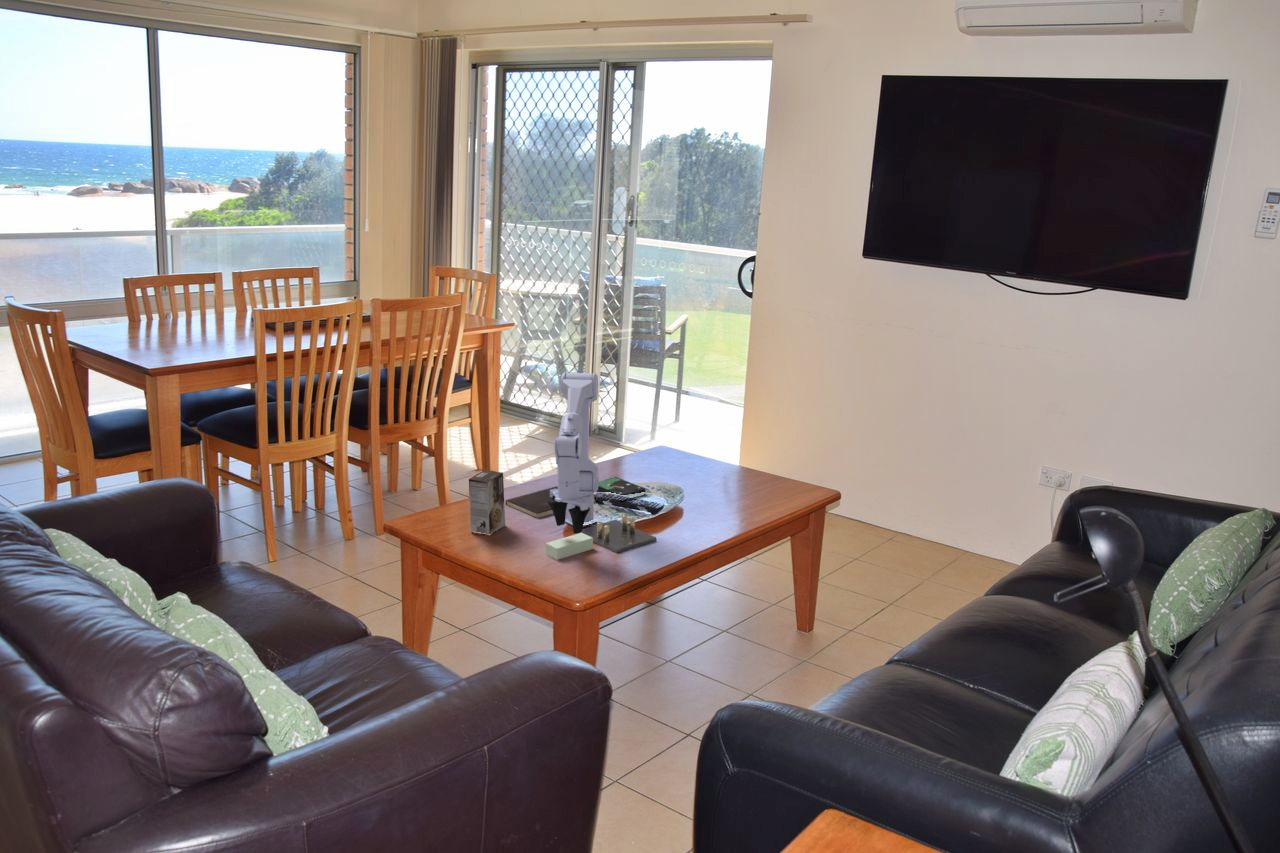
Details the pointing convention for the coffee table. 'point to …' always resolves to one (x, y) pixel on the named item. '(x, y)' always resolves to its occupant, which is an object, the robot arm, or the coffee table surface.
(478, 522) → the coffee box
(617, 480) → the disk drive
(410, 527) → the coffee table surface
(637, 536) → the plate
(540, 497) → the hardcover book
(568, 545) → the pale green block
